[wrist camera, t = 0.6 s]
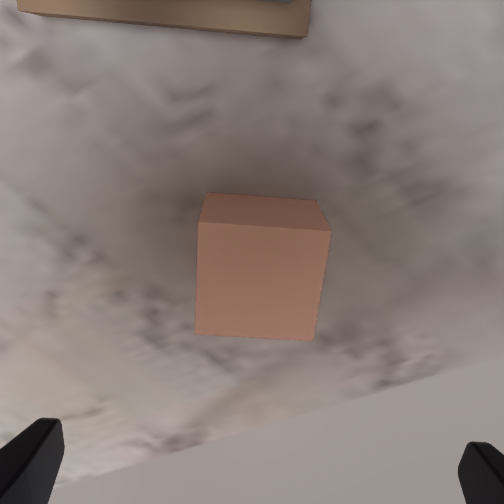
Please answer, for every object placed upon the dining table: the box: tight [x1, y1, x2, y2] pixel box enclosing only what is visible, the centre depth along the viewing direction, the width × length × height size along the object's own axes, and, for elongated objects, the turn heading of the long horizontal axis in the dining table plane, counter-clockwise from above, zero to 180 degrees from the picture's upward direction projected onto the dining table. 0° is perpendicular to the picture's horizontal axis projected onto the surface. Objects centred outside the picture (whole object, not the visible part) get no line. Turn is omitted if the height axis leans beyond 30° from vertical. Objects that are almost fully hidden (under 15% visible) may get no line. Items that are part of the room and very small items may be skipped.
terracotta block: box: [195, 192, 332, 341], centre depth 19 cm, size 5×5×4 cm
